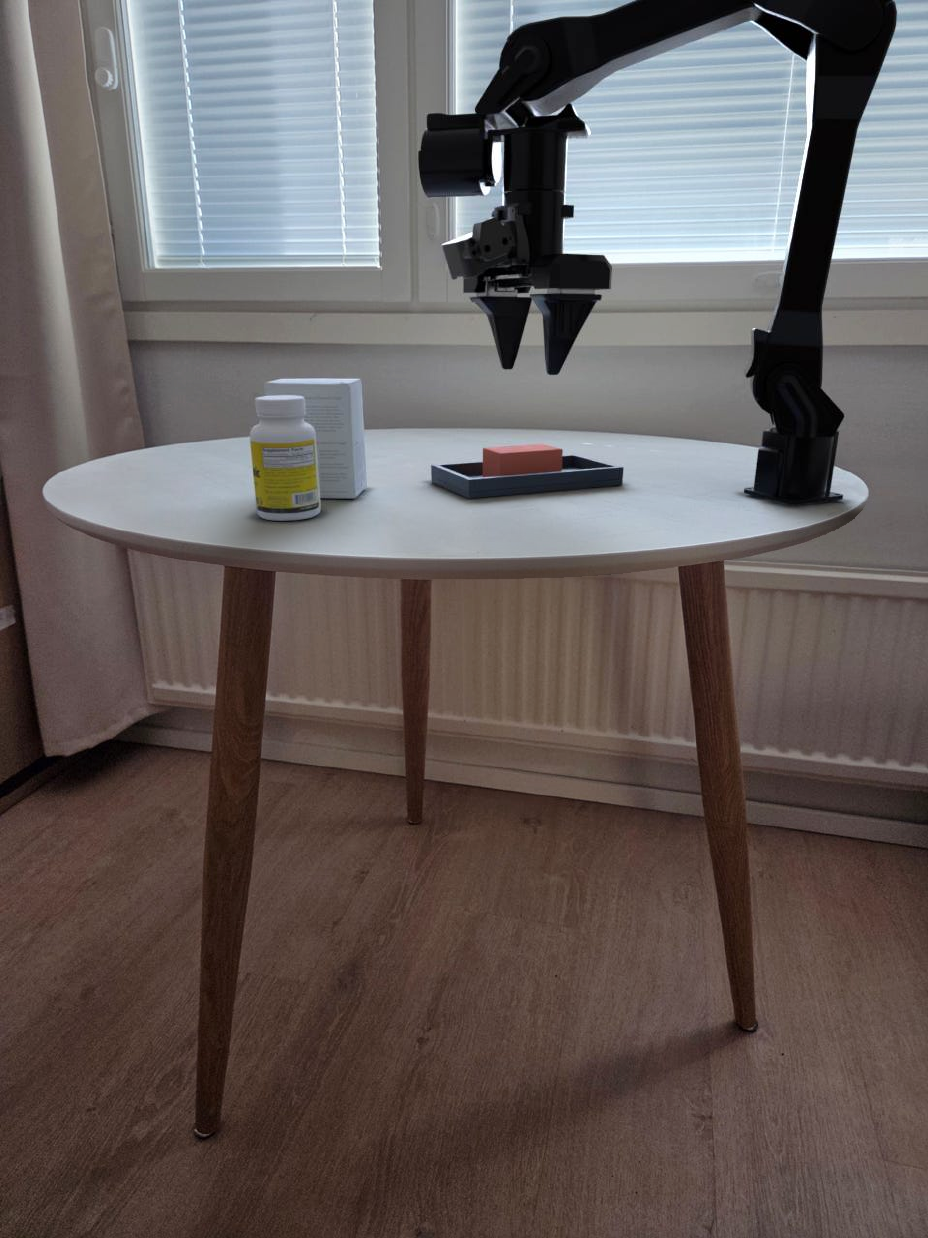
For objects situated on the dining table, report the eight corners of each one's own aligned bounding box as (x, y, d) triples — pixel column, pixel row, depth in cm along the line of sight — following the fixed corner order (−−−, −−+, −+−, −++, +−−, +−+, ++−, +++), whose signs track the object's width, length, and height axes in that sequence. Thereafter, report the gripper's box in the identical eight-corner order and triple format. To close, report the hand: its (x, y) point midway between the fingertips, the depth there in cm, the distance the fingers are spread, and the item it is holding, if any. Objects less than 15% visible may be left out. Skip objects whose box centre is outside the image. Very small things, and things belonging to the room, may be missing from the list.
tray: (574, 470, 93) (575, 454, 93) (622, 484, 85) (623, 467, 85) (431, 482, 86) (430, 464, 86) (468, 498, 79) (468, 479, 78)
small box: (368, 488, 83) (363, 377, 80) (355, 500, 78) (350, 382, 74) (288, 486, 84) (281, 377, 80) (271, 498, 79) (262, 381, 75)
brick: (542, 472, 88) (543, 443, 87) (561, 478, 85) (563, 448, 84) (482, 477, 86) (482, 447, 85) (499, 484, 82) (500, 453, 81)
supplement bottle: (265, 507, 75) (256, 394, 71) (326, 508, 75) (320, 394, 71) (249, 521, 70) (238, 400, 66) (314, 522, 69) (306, 400, 66)
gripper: (414, 200, 82) (417, 368, 87) (501, 173, 66) (498, 380, 71) (516, 207, 86) (512, 366, 91) (620, 182, 70) (609, 377, 75)
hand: (528, 371), depth 82 cm, fingers open, 9 cm apart
